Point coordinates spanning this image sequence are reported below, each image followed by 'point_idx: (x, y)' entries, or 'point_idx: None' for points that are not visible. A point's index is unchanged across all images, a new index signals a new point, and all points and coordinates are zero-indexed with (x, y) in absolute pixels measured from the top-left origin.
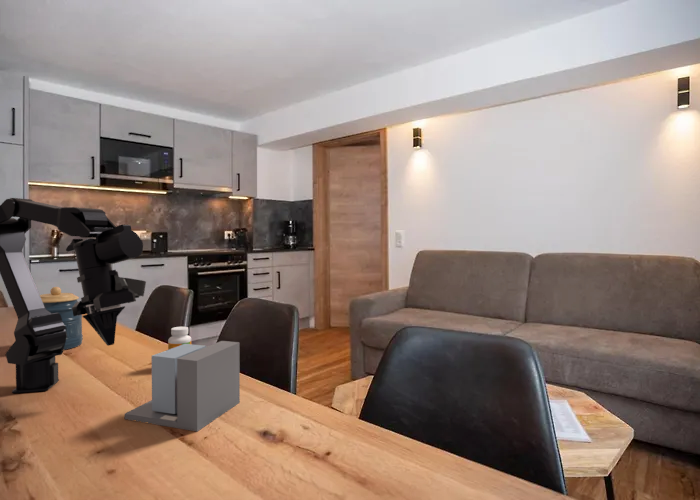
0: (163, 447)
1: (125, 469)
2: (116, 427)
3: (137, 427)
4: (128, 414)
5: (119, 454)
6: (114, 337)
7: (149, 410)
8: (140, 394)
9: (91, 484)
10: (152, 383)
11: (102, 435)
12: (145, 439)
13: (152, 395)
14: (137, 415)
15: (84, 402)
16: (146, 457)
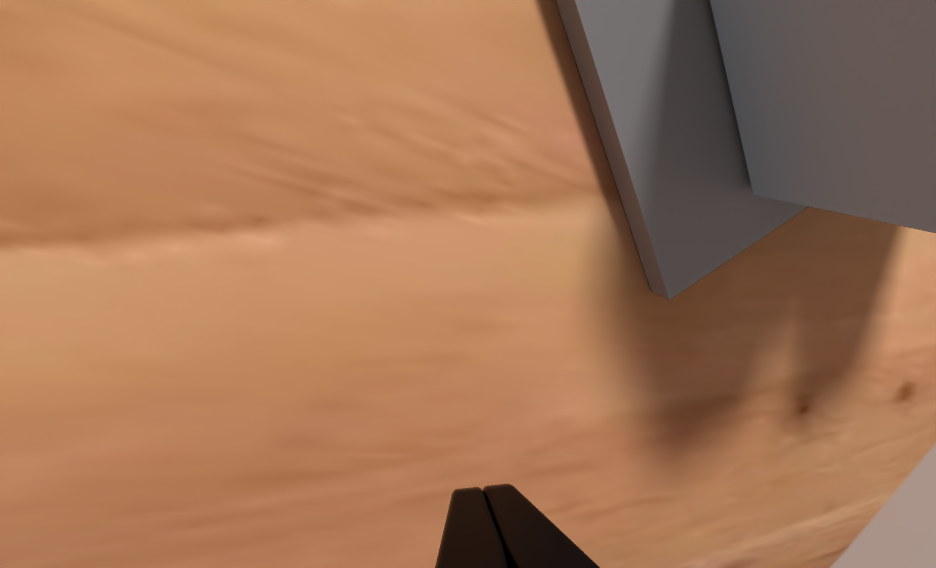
0: (921, 242)
1: (923, 362)
2: (695, 335)
3: (754, 268)
4: (687, 286)
5: (857, 361)
6: (560, 536)
7: (721, 194)
8: (372, 108)
9: (912, 437)
10: (893, 220)
11: (716, 388)
12: (845, 272)
13: (824, 206)
14: (728, 258)
15: (270, 426)
16: (923, 302)
